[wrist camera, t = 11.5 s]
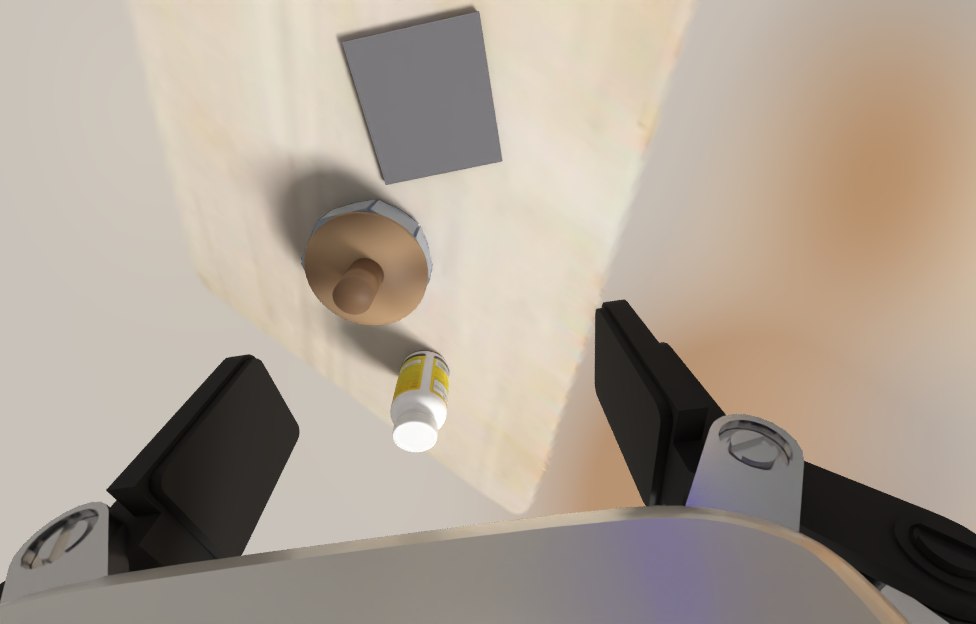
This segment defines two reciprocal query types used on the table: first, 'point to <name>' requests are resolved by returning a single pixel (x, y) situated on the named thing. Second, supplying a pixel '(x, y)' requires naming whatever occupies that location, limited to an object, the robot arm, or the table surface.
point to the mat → (426, 97)
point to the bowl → (383, 210)
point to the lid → (366, 268)
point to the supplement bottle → (420, 401)
